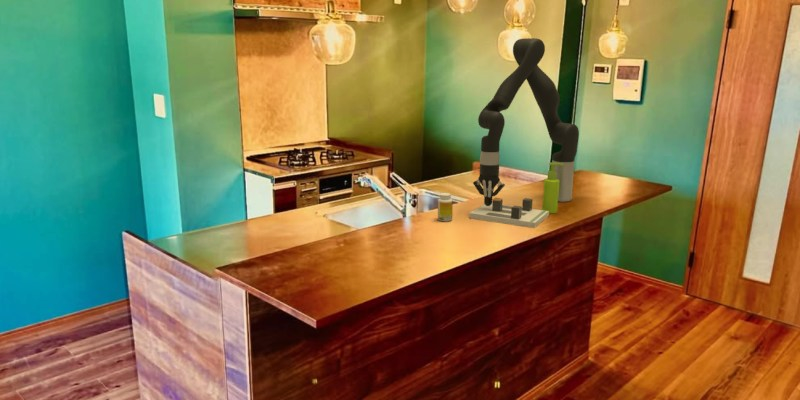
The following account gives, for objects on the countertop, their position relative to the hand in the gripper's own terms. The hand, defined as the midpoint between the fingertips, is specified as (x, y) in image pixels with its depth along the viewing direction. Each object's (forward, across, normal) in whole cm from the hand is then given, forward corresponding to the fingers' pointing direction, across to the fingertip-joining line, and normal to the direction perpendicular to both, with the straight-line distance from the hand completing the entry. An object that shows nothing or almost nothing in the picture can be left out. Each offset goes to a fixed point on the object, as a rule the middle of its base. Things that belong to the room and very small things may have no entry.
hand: (488, 205), depth 223 cm
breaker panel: (+3, -9, 0) cm, 10 cm away
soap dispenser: (+4, -21, -16) cm, 27 cm away
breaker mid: (+1, -4, 0) cm, 4 cm away
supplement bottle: (+4, +11, +16) cm, 20 cm away
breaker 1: (+1, -14, +7) cm, 16 cm away
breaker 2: (+1, -14, -6) cm, 15 cm away
